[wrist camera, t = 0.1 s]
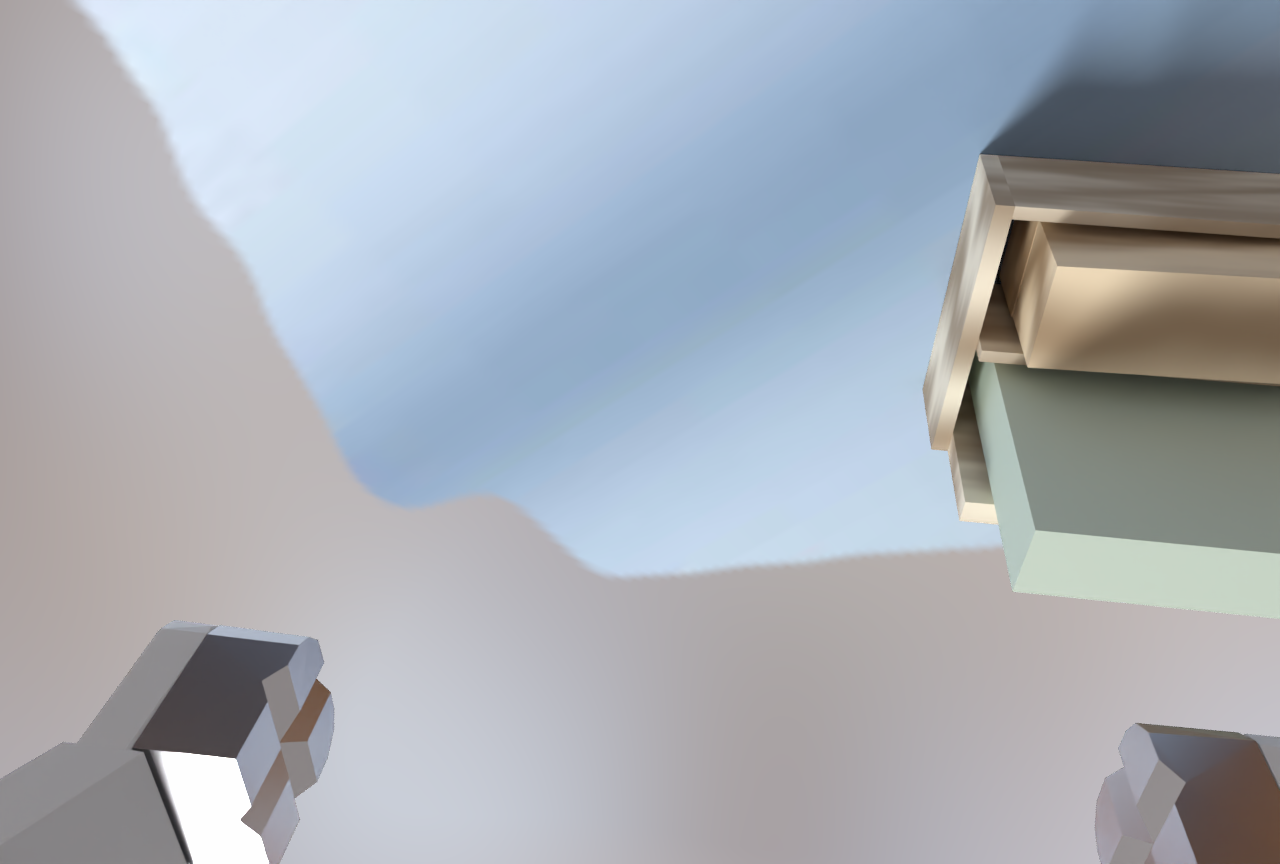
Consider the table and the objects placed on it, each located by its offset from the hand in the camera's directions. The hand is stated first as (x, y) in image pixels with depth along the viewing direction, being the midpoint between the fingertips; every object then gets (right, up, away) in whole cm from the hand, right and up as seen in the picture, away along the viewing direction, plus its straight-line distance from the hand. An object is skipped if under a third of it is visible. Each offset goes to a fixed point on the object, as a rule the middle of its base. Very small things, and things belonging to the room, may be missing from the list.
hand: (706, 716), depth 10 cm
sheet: (+23, +7, +41) cm, 48 cm away
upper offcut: (+23, +10, +34) cm, 42 cm away
